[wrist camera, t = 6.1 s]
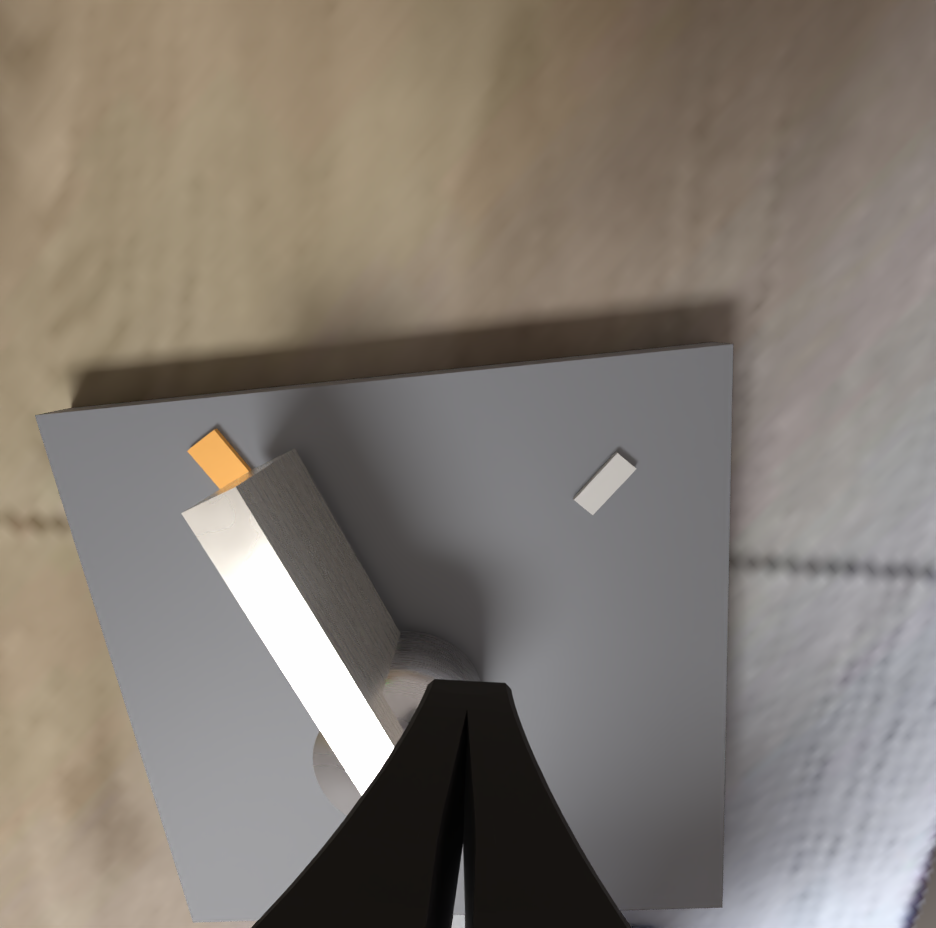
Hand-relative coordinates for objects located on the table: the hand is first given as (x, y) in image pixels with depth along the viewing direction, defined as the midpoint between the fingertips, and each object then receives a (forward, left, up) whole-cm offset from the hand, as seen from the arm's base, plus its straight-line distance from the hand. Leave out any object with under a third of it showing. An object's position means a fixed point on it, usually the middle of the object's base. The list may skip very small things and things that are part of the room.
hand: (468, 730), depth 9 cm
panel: (-6, +3, -10) cm, 12 cm away
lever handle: (-2, +4, -8) cm, 10 cm away
